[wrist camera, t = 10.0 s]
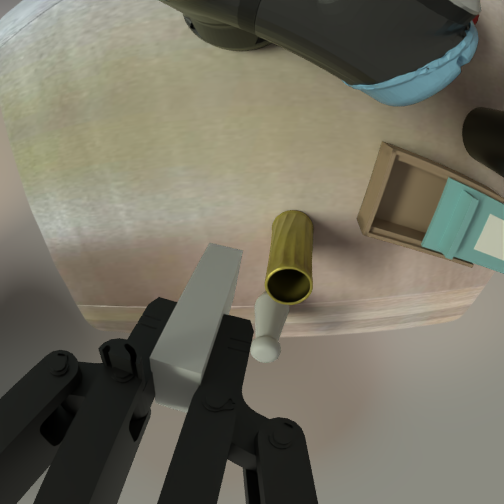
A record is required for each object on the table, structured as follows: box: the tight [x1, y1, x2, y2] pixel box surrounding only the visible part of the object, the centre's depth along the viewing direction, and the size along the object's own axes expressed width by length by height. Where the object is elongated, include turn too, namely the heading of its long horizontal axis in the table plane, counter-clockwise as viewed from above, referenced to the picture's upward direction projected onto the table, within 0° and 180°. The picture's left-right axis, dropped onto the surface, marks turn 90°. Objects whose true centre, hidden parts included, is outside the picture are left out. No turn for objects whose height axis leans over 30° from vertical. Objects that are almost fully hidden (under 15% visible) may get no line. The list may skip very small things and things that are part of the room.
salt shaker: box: [250, 291, 290, 363], centre depth 46 cm, size 6×6×13 cm
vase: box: [265, 210, 313, 305], centre depth 38 cm, size 6×6×14 cm
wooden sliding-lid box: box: [357, 142, 504, 268], centre depth 36 cm, size 12×20×5 cm, turn 79°
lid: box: [421, 177, 504, 274], centre depth 33 cm, size 10×19×4 cm, turn 79°
